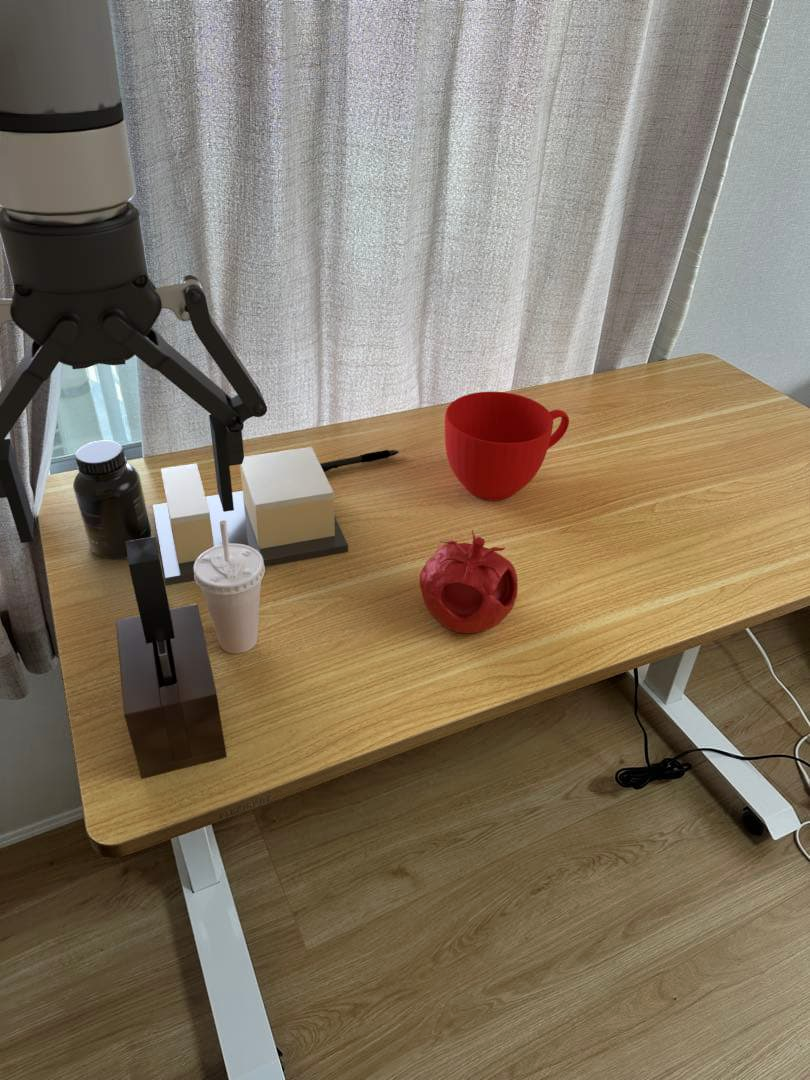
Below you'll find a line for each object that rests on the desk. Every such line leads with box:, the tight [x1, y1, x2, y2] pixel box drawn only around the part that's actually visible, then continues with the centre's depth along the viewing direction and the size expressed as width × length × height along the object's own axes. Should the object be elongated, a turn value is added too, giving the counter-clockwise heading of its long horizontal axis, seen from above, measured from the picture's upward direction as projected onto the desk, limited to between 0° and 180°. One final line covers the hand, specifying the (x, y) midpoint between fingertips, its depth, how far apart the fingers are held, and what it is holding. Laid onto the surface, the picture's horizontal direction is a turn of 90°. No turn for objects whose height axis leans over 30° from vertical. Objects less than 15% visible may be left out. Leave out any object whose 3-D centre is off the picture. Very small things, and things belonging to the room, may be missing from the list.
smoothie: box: [194, 520, 266, 654], centre depth 75 cm, size 6×6×14 cm
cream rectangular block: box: [160, 463, 214, 564], centre depth 89 cm, size 4×10×6 cm, turn 19°
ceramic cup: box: [444, 391, 570, 501], centre depth 100 cm, size 13×17×10 cm
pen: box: [319, 449, 399, 473], centre depth 104 cm, size 14×2×1 cm, turn 113°
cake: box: [239, 446, 335, 549], centre depth 92 cm, size 9×10×6 cm
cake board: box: [152, 490, 349, 586], centre depth 93 cm, size 20×14×1 cm
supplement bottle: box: [72, 439, 153, 560], centre depth 87 cm, size 7×7×12 cm
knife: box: [126, 536, 175, 686], centre depth 65 cm, size 2×6×18 cm, turn 19°
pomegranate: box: [418, 529, 519, 634], centre depth 81 cm, size 10×10×9 cm
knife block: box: [115, 603, 228, 779], centre depth 69 cm, size 7×11×8 cm, turn 19°
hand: (130, 515), depth 58 cm, fingers open, 13 cm apart
